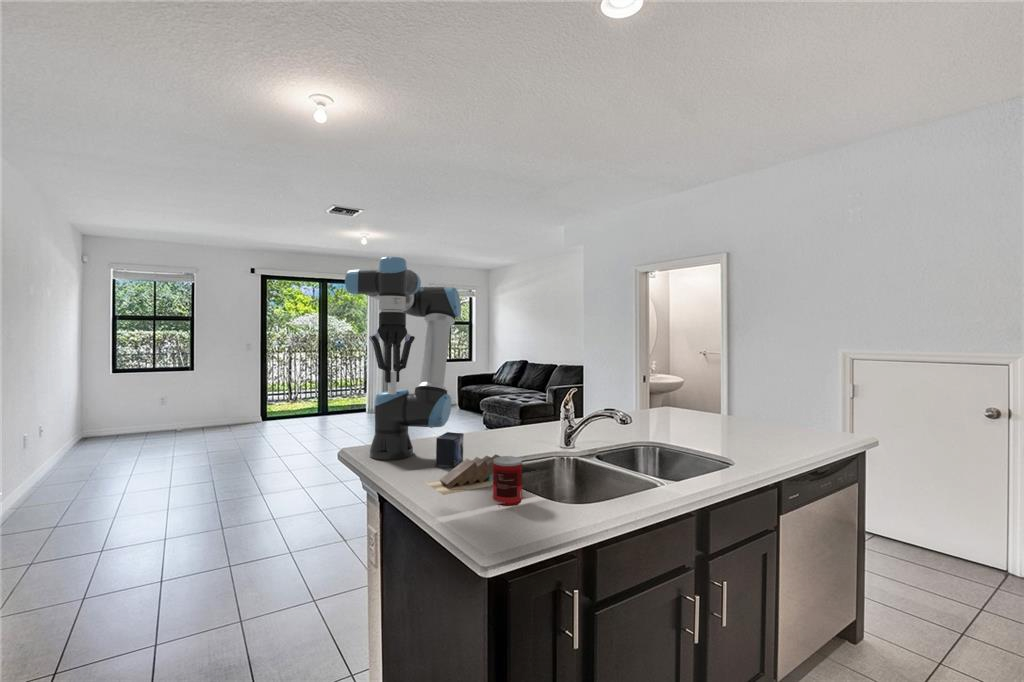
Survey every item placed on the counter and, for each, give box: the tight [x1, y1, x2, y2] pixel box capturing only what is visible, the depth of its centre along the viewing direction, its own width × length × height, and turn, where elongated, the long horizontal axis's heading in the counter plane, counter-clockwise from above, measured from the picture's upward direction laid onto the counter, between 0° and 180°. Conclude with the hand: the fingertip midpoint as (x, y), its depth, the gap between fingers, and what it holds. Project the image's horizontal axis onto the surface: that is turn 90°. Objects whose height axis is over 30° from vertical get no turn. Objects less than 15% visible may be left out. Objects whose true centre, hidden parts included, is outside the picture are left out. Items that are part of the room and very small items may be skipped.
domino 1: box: [438, 458, 477, 489], centre depth 139 cm, size 5×2×10 cm
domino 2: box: [456, 456, 487, 487], centre depth 141 cm, size 5×2×10 cm
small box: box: [435, 431, 464, 470], centre depth 161 cm, size 11×6×10 cm, turn 168°
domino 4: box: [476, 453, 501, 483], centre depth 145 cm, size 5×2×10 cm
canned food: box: [492, 455, 523, 507], centre depth 128 cm, size 8×8×11 cm
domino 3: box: [467, 455, 494, 485], centre depth 143 cm, size 5×2×10 cm
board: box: [425, 479, 493, 495], centre depth 140 cm, size 12×17×1 cm
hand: (392, 393), depth 141 cm, fingers closed
